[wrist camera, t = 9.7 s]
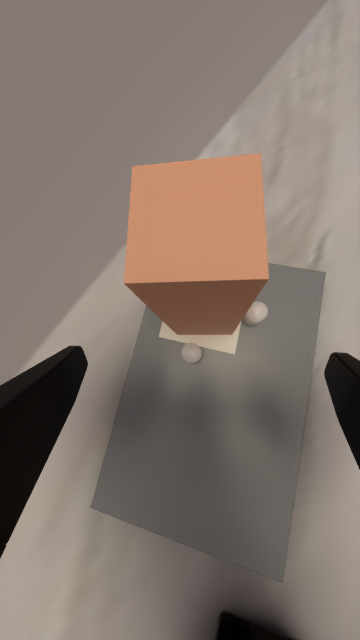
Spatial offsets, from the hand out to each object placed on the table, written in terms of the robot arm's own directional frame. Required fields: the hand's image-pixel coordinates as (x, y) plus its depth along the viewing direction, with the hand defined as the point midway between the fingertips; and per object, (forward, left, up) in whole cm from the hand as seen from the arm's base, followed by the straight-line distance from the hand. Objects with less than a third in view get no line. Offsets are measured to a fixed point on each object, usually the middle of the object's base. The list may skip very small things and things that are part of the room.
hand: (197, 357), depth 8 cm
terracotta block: (+4, +1, -10) cm, 11 cm away
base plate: (-2, -1, -11) cm, 12 cm away
